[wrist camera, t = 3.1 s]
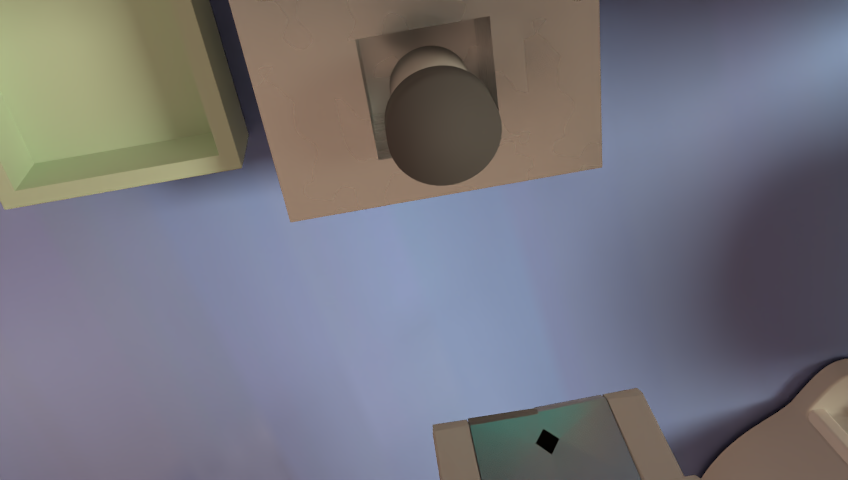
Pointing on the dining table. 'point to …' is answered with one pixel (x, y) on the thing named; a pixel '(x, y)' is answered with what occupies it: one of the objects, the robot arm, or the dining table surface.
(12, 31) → the tray
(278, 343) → the dining table surface
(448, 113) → the plunger
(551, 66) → the white slotted holder
